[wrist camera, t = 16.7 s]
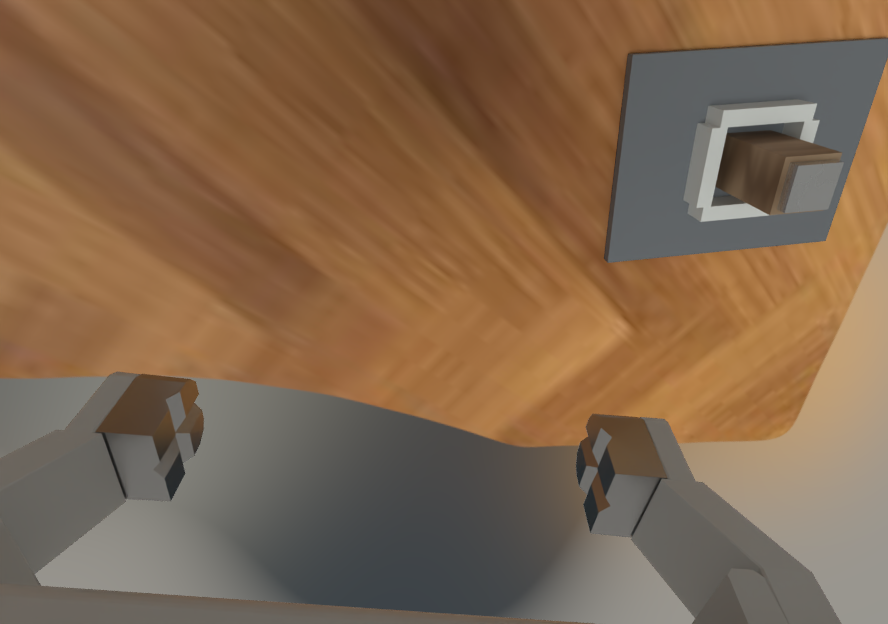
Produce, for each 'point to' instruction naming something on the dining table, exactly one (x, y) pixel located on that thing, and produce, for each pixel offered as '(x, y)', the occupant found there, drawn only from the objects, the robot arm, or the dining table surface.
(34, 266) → the dining table surface
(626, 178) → the end holder
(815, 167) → the plug
